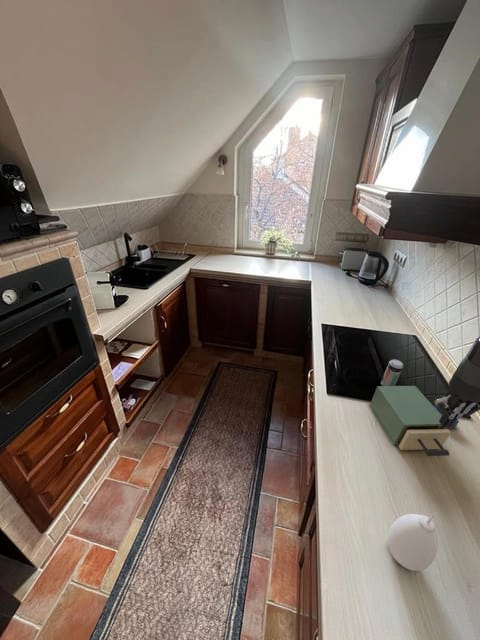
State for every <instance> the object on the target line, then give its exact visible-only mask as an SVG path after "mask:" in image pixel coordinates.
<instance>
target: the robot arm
mask: <svg viewBox="0 0 480 640" xmlns="http://www.w3.org/2000/svg"><path fill="white" fill-rule="evenodd" d="M448 388H449V390H447V391H446V392H445V393H444V395H443V396H442V397H440V398H439V397H437V396H434V397H433V398H432V401H433V404H434V406H436V408H437V410H438V411H439V412H440V413H441V414H442V416H441V418H440V420H439V422H440V424H441V425H442V426H443V427H444V428H446V429H452V428H451V427H452V426H453V425H454V423H455V422H456V420H460V419H462V418H468V417H470V416H472V415H474V414H475V413H477V412H478V411H480V336H478V337H477V338H476V339H475V340H474V341H473V343H472V344H471V346H470V348H469V349H468V351H467V353H466V355H465V356H464V357H463V358H462V359H461V361H460V363H458V365H457V367H456V369H455V371H454V372H453V374H452V376H451V377H450V380H449V381H448ZM449 411H450V412H449Z"/></svg>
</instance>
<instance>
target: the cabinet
mask: <svg viewBox="0 0 480 640" xmlns="http://www.w3.org/2000/svg"><path fill="white" fill-rule="evenodd" d="M434 406H435V405H433V404H432V403H431V402H430V400H428V399H427V398H426V396H425V395H424V394H423V392H422V391H420V389H419V388H418V387H417V386H416V385H395V386H382V385H380V386H376V388H375V392H374V394H373V396H372V399H371V400H370V404H369V407H370V408H371V409H372V412H373V413H374V415H375V417H376V418H377V420H378V421H379V423H380V425H381V426H382V428H383V430H384V431H385V433H386V434H387V436H388V439H390V441H391V443H392V444H393V446H399V445H400V443H401V441H399V439H400V437H401V435H402V434H403V432H404V430H405V428H406V427H413V426H441V428H440V429H447V428H444V427H443V426H442V425H441V424H440V422H439V420H440V418H441V416H442V415H441V414H440V413H439V412H438V411H437V410H436V409H435V408H434Z"/></svg>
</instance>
